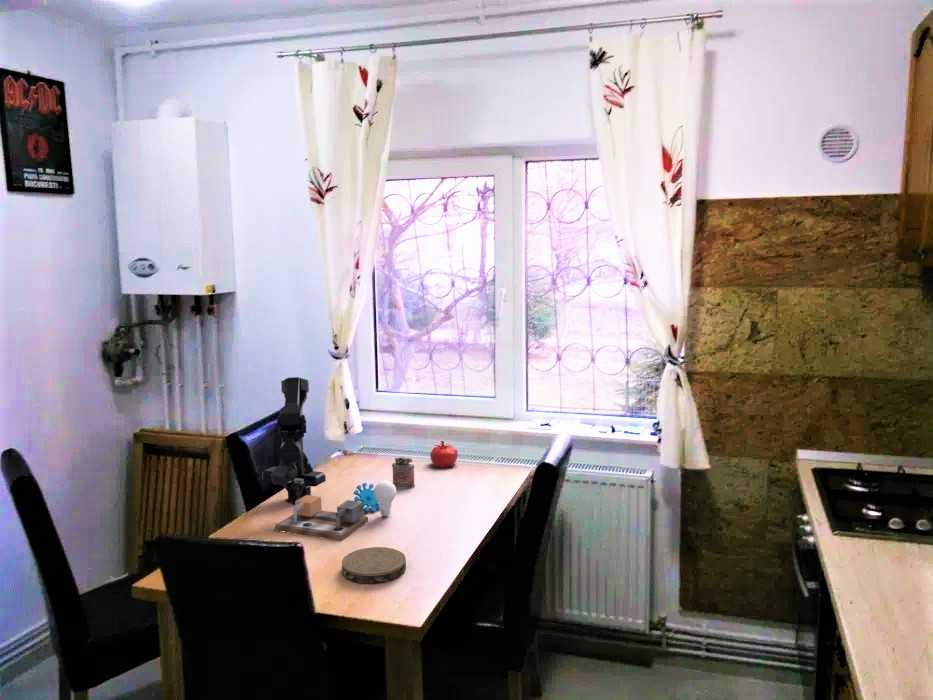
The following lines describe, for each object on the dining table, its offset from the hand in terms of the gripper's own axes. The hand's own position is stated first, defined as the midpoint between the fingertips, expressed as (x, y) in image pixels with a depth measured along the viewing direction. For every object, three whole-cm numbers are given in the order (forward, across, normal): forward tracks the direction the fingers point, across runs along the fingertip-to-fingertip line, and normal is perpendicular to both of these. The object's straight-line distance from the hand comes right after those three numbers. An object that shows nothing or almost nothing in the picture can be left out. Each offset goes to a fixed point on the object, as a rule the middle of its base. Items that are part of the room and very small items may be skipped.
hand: (295, 504), depth 222 cm
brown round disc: (+5, +39, -23) cm, 45 cm away
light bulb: (+5, +24, +11) cm, 27 cm away
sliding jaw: (+3, +5, -2) cm, 6 cm away
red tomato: (+5, +21, +64) cm, 67 cm away
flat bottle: (+5, +17, +38) cm, 42 cm away
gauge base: (+5, +11, -2) cm, 12 cm away
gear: (+5, +17, +15) cm, 23 cm away
